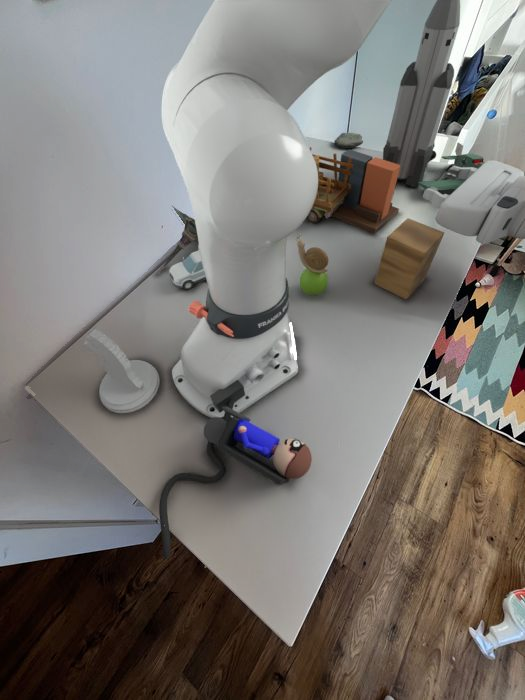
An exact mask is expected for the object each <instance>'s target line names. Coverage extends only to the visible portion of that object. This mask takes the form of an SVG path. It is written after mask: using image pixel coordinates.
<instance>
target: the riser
mask: <svg viewBox="0 0 525 700" xmlns="http://www.w3.org/2000/svg"><path fill="white" fill-rule="evenodd" d="M444 235H445V232H444V231H442V230H440V229H437V228H434V227H431V226H429V225H427V224H424V223H422V222H419V221H416V220H414V219H411V218H408V217H407V218H406V219H405V220H404V221H403V222H401V224H399V225H398V226H397V227H396V228H395V229H394V230H393V231H392V232H391V233H390V234H388V235H387V236H386V240H385V243H384V247H383V250H382V253H381V258H380V261H379V265H378V269H377V272H376V275H375V280H374V283H373V284H374V285H376V286H378V287H380V288H382V289H384V290H386V291H388V292H390V293H392V294H394V295H396V296H398V297H400V298H402V299H404V300H407V299H408V298H410V296H411V295H412V294H413V293H414V292H415V291H416V290H417V288H419V287H420V285H421V284H422V283H423V282H424V281H425V279H426V277H427V275H428V273H429V270H430V268H431V266H432V264H433V261H434V258H435V256H436V254H437V252H438V249H439V247H440V245H441V242H442V240H443V238H444Z"/></svg>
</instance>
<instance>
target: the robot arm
mask: <svg viewBox="0 0 525 700" xmlns="http://www.w3.org/2000/svg"><path fill="white" fill-rule="evenodd" d="M391 2H392V0H214V1H213V2H212V3H211V6H210V7H209V9H208V10H207V11H206V13H205V15H204V17H203V18H202V20H201V22H200V23H199V26H198V28H197V29H196V31H195V32H194V34H193V36H192V38H191V39H190V41H189V43H188V45H187V47H186V49H185V51H184V53H183V55H181V58H180V60H179V61H178V62H176V64H175V65H174V66H173V67H172V68H171V70H170V71H169V73H168V75H167V77H166V79H165V83H164V86H163V89H162V96H161V110H160V111H161V123H162V129H163V132H164V135H165V139H166V140H167V143H168V144H169V147H170V149H171V151H172V154H173V157H174V158H175V162H176V165H177V167H178V170H179V172H180V175H181V178H182V180H183V183H184V186H185V189H186V191H187V194H188V197H189V202H190V205H191V210H192V214H193V219H195V224H196V229H197V235H198V240H197V241H198V250H199V253H200V257H201V261H202V265H203V268H204V272H205V276H206V279H205V280H206V283H207V291H206V297H205V298H206V300H205V305H203V304H202V303H201V302H200V301H198V300H194V301H192V302H191V303H190V305H189V307H188V311H189V313H190V314H192V315H194V316H196V318H197V319H199V321H198V322H197V324H196V326H195V327H194V329H193V330H192V332H191V333H190V335H189V337H188V338H187V340H186V342H185V343H184V344H183V346H182V348H181V352H180V359H179V360H178V361H177V363H176V364H175V365H174V366H173V368H172V369H171V376H172V380H173V384H174V385H175V388H176V390H177V391H178V392H179V394H180V396H181V397H182V398H183V399H184V400H185V401H186V402H187V403H188V404H189V405H191V407H192V408H194V409H195V410H196V411H198V412H199V413H201V414H202V415H204V416H206V417H207V418H209V419H211V418H215V417H217V418H221V417H223V420H225V421H226V422H227V424H228V422H229V420H230V417H232V418H235V417H234V416H232V415H230V414H228V413H226V412H224V410H223V408H222V407H229V408H231V409H232V410H234V411H236V412H238V413H240V414H241V412H243V411H244V410H246V409H248V408H250V406H252V405H254V404H255V403H257V402H258V401H259V400H260V399H262V398H264V397H265V396H267V395H269V394H270V393H271V392H272V391H274V390H276V389H277V388H278V387H280V386H281V385H283V384H285V383H286V382H288V381H289V380H291V379H292V378H293V377H295V376H296V375H297V374H298V373H299V365H298V361H297V358H298V356H297V349H296V348H297V341H296V337H295V334H294V331H293V324H292V322H290V317H289V313H288V310H289V307H290V299H291V298H290V297H291V295H290V288H289V287H290V286H289V281H288V279H287V270H286V269H287V241H288V237H289V236H290V235H291V234H293V233H295V231H296V230H297V229H298V228H299V227H301V225H302V224H303V223H304V222H305V220H306V219H307V216H308V214H309V212H310V210H311V208H312V206H313V204H314V201H315V198H316V195H317V190H318V171H317V166H316V163H315V160H314V158H313V155H312V154H313V153H312V149H311V150H310V148H309V147H310V146H309V143H308V141H307V139H306V137H305V136H304V133H303V132H302V130H301V127H300V125H299V124H298V122H297V120H296V119H295V118H294V116H293V115H292V114H291V113H290V112H289V111H288V110H289V109H290V108H291V107H292V106H293V104H295V102H296V101H297V100H298V99H299V98H300V97H302V95H303V94H304V93H305V92H306V91H307V90H308V89H309V88H310V87H311V86H312V85H313V84H314V83H315V82H316V81H318V80H319V79H320V78H322V77H323V76H324V75H326V74H327V73H328V72H331V71H332V70H334V69H337V68H339V67H342V65H345V63H348V62H349V61H350V60H351V59H352V58H353V57H354V56H355V55H356V54H357V52H359V50H360V49H361V48H362V46H363V44H364V43H365V41H366V40H367V38H368V37H369V36H370V34H371V33H372V31H373V29H374V28H375V26H376V25H377V23H378V22H379V21H380V18H382V15H383V14H384V12H385V11H386V10H387V8H388V7H389V5H390V3H391ZM484 162H485V163H484V164H483V165H482V166H481V167H480V168H479V169H477V168H474V167H462V168H461V167H457V166H452V167H451V168H450V169H449V170H448V173H447V176H446V178H447V179H453V180H455V179H457V178H458V179H465V180H466V181H465V182H464V183H463V184H461V185H460V186H459V187H458V188H456V189H454V190H453V192H452V193H451V194H447V193H444V194H442V193H441V192H439V190H438V188H435V187H432V186H430V187H428V188H427V189H426V190H425V189H424V191H423V195H422V198H423V199H424V200H427V201H429V202H431V203H432V204H433V206H434V207H435V208H436V209H438V210H437V212H436V215H435V216H434V217H435V222H436V224H438V225H439V226H440V227H442V228H445V229H446V230H448V231H452V232H453V233H457V234H460V235H462V236H465V237H476V238H475V241H476V242H478V243H480V244H482V245H489V244H491V243H493V242H495V241H497V240H499V239H502V238H505V237H507V236H509V237H512V238H515V239H520V240H521V239H522V240H525V176H524V173H525V172H524V171H523V170H521V169H520V168H517V167H515V166H512V165H509V164H507V163H506V164H505V163H504V162H501V161H497V160H493V159H492V160H486V161H484ZM212 410H214V411H212ZM214 446H215V443H211V442H209V441H208V440H207V442H206V446H205V447H206V453H207V456H208V458H209V459H210V460H211V461H212V462H213V463H214V464H215V465H216V467H217V468H218V471H217V473H216V474H214V475H212V476H211V475H210V476H206V475H202V474H197V473H194V472H193V473H192V472H179V473H176V474H174V475H172V477H170V478H169V479H168V481H167V482H166V483H165V485H164V486H163V488H162V490H161V493H160V497H159V505H158V507H159V508H158V511H159V512H158V513H159V514H158V516H159V522H160V530H161V542H162V558H163V559H165V560H168V559H169V558H170V557H171V553H172V545H171V532H170V531H171V530H170V525H169V524H170V523H169V518H168V497H169V494H170V493H171V490H172V488H173V487H174V486H175V484H176V483H178V482H180V481H184V480H185V481H191V482H196V483H201V484H206V485H212V484H217V483H218V482H220V481H221V480H222V479H223V478H224V476H225V475H226V472H227V471H226V469H227V468H226V464H225V462H224V461H223V460H222V459H221V458H220V457H219V456H218V455H217V453H216V452H215V450H214ZM164 525H165V526H164Z"/></svg>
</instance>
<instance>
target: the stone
mask: <svg viewBox="0 0 525 700" xmlns="http://www.w3.org/2000/svg"><path fill="white" fill-rule="evenodd" d="M363 143H364V140H363V136H362V134H360V133H355V132H342V133H340V134H339V136H337V137H336V138H335V139H334V141H333V144H334V145H335V146H337V147H339V148H342V149H352V148H353V149H354V148H358V147H360V146H361V145H362V144H363Z"/></svg>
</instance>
